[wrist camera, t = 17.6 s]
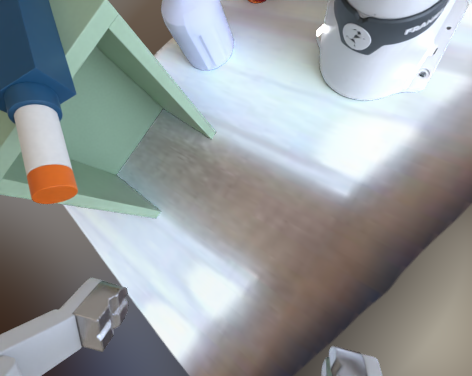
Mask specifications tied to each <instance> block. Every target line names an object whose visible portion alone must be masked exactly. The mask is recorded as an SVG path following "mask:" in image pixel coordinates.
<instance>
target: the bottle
mask: <svg viewBox="0 0 472 376" xmlns="http://www.w3.org/2000/svg"><path fill="white" fill-rule="evenodd" d="M76 94H77V93H76V90H75V87H74V83H73V80H72V77H71V73H70V70H69V67H68V63H67V60H66V57H65V53H64V50H63V47H62V43H61V40H60V37H59V33H58V30H57V26H56V23H55V20H54V16H53V13H52V10H51V6H50V3H49V0H0V110H1V111H3V112H6V113H7V114H8V117H9V119H10V120H11V121H12V122H13V123H14V124H16V128H17V133H18V138H19V143H20V147H21V152H22V157H23V161H24V166H25V171H26V176H27V180H28V185H29V190H30V194H31V199H32V200H33V201H34V202H37V203H41V204H52V203H59V202H63V201H66V200H69V199H71V198H73V197H74V196H75V195H76V194H77V193H78V188H77V185H76V181H75V177H74V173H73V170H72V166H71V162H70V158H69V155H68V151H67V147H66V143H65V140H64V136H63V132H62V129H61V125H60V121H61V119H62V117H63V113H62V109H61V106H60V104H62V103H63V102H65V101H67V100H68V99H70V98H72V97H73V96H75V95H76Z"/></svg>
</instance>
